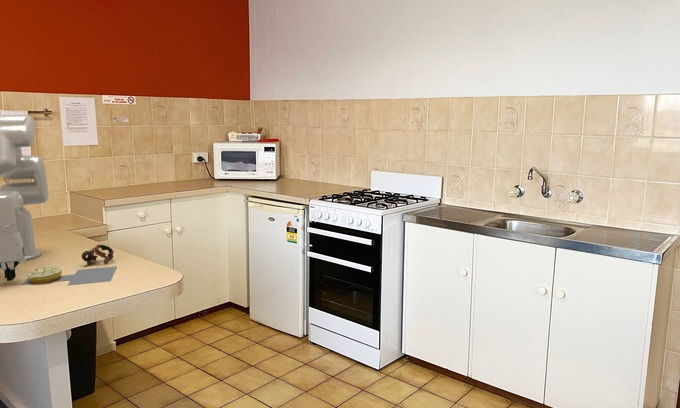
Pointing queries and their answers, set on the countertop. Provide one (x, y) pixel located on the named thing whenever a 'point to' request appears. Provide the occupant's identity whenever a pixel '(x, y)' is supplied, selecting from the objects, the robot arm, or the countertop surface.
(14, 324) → the countertop surface
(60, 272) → the decorated donut
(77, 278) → the t mat
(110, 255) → the pottery mug
